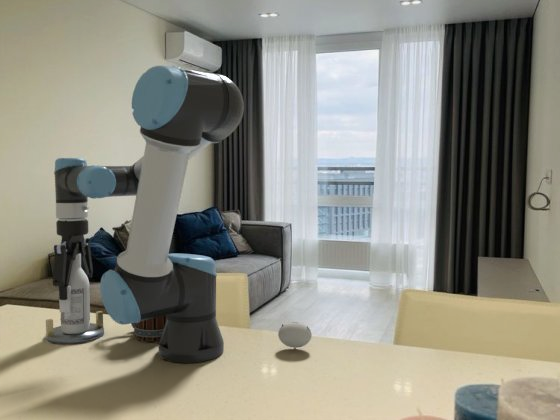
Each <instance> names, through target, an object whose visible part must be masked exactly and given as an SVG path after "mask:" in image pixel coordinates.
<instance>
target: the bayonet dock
mask: <svg viewBox="0 0 560 420" xmlns="http://www.w3.org/2000/svg"><path fill="white" fill-rule="evenodd" d="M104 334H105V327H104V312H103V311H102V310H98V311H95V323H94V322H93V323H92V322H90V329H89V330H88V331H86V332H84V333H79V334H65V333H63V332H62V331H61V325H59V326H56V327H54V319H52V318H50V319H45V340H46V342H48V343H49V344H53V345H62V346H63V345H64V346H66V345H68V346H71V345H80V344H84V343H86V344H87V343H89V342H93V341H96V340H98V339H100V338H102V337H103V336H104Z"/></svg>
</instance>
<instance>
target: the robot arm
mask: <svg viewBox="0 0 560 420" xmlns="http://www.w3.org/2000/svg"><path fill="white" fill-rule="evenodd" d="M244 105H245V104H244V98H243V94H242V93H241V90H240V89H239V87H238V86H237V84H236V83H235V82H233V81H232V80H231V79H230V78H228V77H227V76H225V75H223V74H219V73H214V72H207V71H200V70H194V69H191V68H186V67H180V66H175V65H154V66H152V67H150V68H148V69H147V70H146V71H145V72H143V73H142V74H141V76H140V77H139V79H138V80H137V82H136V83H135V85H134V89H133V92H132V98H131V109H132V110H133V111H132V116H133V119H134V122H136V124H137V125H138V126H139V127H140V129H139V133H140V135H141V137H142V139H144V141H145V147H144V152H143V156H141V157H140V158H139V159H138V160H137V161H136V162H134V163H133V164H132V165H88V164H87V160H86V159H85V158H83V157H82V158H81V157H59V158H57V159H55V160H54V171H53V174H54V187H55V218H56V219H58V220H57V221H56V226H55V227H56V235H57V236H60V237H61V240H60V244H55V245H53V251H54V260H53V275H52V286H54V287H56V288H58V299H59V302H58V303H59V313H61V312H67V313H70V312H72V311H71V286H68V285H69V280H70V275H71V270H72V265H73V261H74V260H75V259H76V254H79V253H80V254H81V268H82V269H83V271H84V272H85V274H86V275H87V277H88V279H91V278H93V273H94V270H93V269H94V268H93V267H94V266H93V261H92V258H93V257H92V251H91V238H89V237H88V238H87V237H85V235H87V234H89V220H88V219H87V218H88V217H89V214H88V213H89V208H90V207H89V205H88V201H89V199H88V198H90V199H103V198H109V197H110V198H112V197H135V201H134V207H133V213H132V216H131V223H130V229H129V232H128V233H129V234H128V239H127V243H126V250H124V251H122V252H120V253H119V254H118V255H117V257H116V261H115V268H114V269H109V270H107V271H105V272H104V273H103V274H102V276H101V278H100V283H99V284H100V285H99V287H100V296H101V300H102V303H103V306H104V308H105V310H106V312H107V314H108V315H109V317H110V318H111V319H112V320H113V322H115V323H117V324H119V325H123V326H124V325H129V324H131V323H139V322H140V321H144V320H148V319H152V318H157V317H161V316H165V315H166V322H165V326H164V329H163V332H162V335H161V338H160V341H158V355H159V357H160V358H161V359H163V360H165V361H168V362H172V363H180V364H182V363H183V364H189V363H190V364H192V363H201V362H206V361H210V360H213V359H215V358H218V357H220V356H221V355H222V354H223V353H224V351H225V350H224V338H223V335H222V332H221V329H220V325H219V323H218V321H217V275H218V274H217V270H216V262H215V259H213V258H212V257H210V256H206V255H200V254H194V253H193V254H191V253H169V252H170V248H171V243H172V238H173V233H174V229H175V224H176V220H177V215H178V211H179V206H180V201H181V197H182V192H183V187H184V182H185V177H186V174H187V169H188V168H187V167H188V163H189V160H191V159H192V158H193V157H194V156H196V155H197V154H198V153H200V152H201V151H202V150H203V149H205V148H206V147H208V146H210V145H211V144H218V143H221V142H222V141H223V140H225V139H226V138H228V137H229V136H230V135H231V134H232V133H233V132H235V130H236V129H237V128H238V126H239V124H240V123H241V122H242V119H243V116H244V111H245V110H244V109H245V106H244Z"/></svg>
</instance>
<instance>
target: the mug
mask: <svg viewBox="0 0 560 420" xmlns="http://www.w3.org/2000/svg"><path fill="white" fill-rule="evenodd" d="M165 322H166V315H165V316H161V317H157V318H152V319H148V320H144V321H140V322H139V323H131V327H132V328H133V334H134V337H135V338H136V339H137V340H138V341H141V342H145V343H146V342H147V343H153V342H154V343H156V342H158V343H159V342H160V338H161V335H162V332H163V329H164V326H165Z"/></svg>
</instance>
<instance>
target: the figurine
mask: <svg viewBox="0 0 560 420" xmlns="http://www.w3.org/2000/svg"><path fill="white" fill-rule="evenodd" d="M277 336H278V339H279V341H280V342H281V343H282V344H283V345H284V346H286V347H290V348H293V350H294V351H296V350H297V348H301V347H304V346H306V345H307V344H308V343H310V342H311V339H312V331H311V329H310V327H309V326H308V325H306V324H304V323H303V322H299V321H290V322H286V323H284V324H281V327H280V328H279V329H278V334H277Z"/></svg>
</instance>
